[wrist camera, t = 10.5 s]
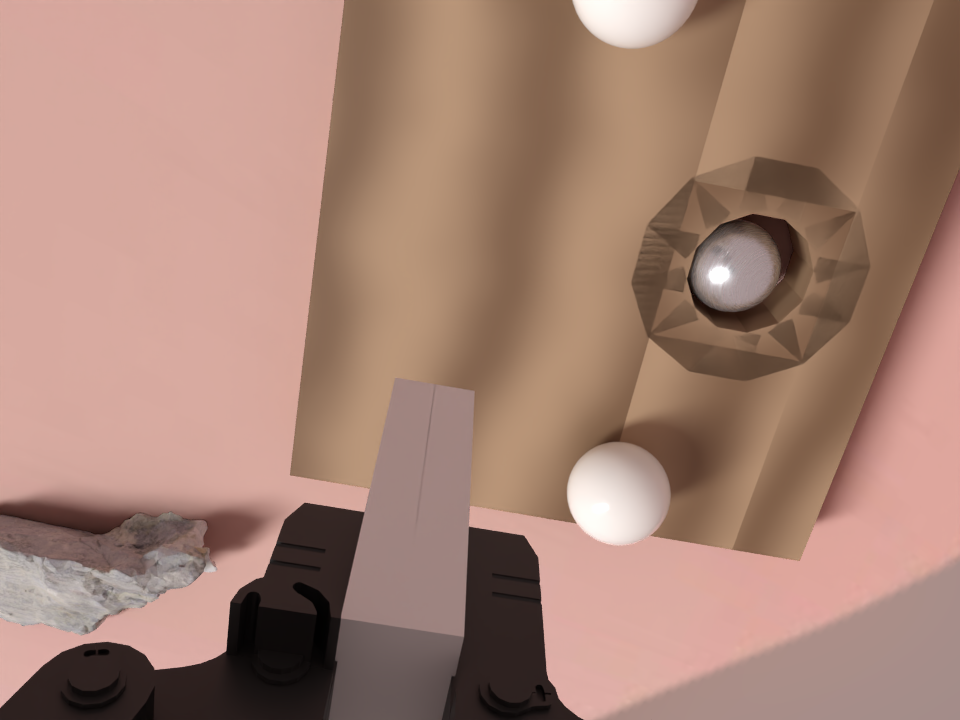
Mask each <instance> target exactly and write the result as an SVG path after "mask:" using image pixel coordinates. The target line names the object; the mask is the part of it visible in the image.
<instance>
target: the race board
mask: <svg viewBox="0 0 960 720" xmlns="http://www.w3.org/2000/svg"><path fill="white" fill-rule="evenodd" d="M959 169H960V0H698V1H697V4H696V6H695V8H694V10H693V12H692V13H691V15H690V17H689V18H688V19H687V21H686V22H685V23H684V24H683V26H682V27H681V28H680V29H679V30H678V31H677V32H675V33H674V34H673V35H671V36H670V37H669V38H667V39H665V40H664V41H662V42H660V43H658V44H655V45H652V46H649V47H646V48H639V49H626V48H619V47H616V46H612V45H610V44H607V43H605V42H603V41H601V40H600V39H598V38H597V37H595V36H594V35H593V34H592V33H591V32H590V31H589V30H588V29H587V28H586V27H585V26H584V24H583V23H582V22H581V20H580V18H579V16H578V15H577V13H576V10H575V8H574V5H573V1H572V0H344V9H343V18H342V27H341V35H340V44H339V53H338V61H337V70H336V79H335V88H334V96H333V105H332V114H331V122H330V131H329V140H328V148H327V157H326V166H325V175H324V183H323V192H322V201H321V209H320V218H319V227H318V236H317V244H316V253H315V262H314V270H313V279H312V288H311V296H310V305H309V314H308V323H307V331H306V340H305V349H304V357H303V366H302V375H301V383H300V392H299V401H298V410H297V418H296V427H295V436H294V444H293V453H292V462H291V471H290V475H292V476H298V477H304V478H310V479H315V480H321V481H327V482H333V483H339V484H345V485H351V486H357V487H363V488H369V489H370V486H371V482H372V478H373V473H374V469H375V465H376V460H377V456H378V451H379V447H380V443H381V438H382V434H383V429H384V425H385V421H386V416H387V412H388V407H389V403H390V399H391V394H392V390H393V385H394V381H395V378H401V379H407V380H413V381H419V382H425V383H430V384H436V385H442V386H448V387H454V388H460V389H466V390H472V391H475V393H474V417H473V440H472V463H471V487H470V506H476V507H482V508H488V509H494V510H500V511H506V512H512V513H518V514H524V515H530V516H536V517H541V518H547V519H553V520H559V521H565V522H571V523H576V521H575V520H574V518H573V516H572V514H571V512H570V508H569V505H568V500H567V485H568V480H569V476H570V474H571V471H572V469H573V467H574V466H575V464H576V463H577V461H578V460H579V459H580V458H581V457H582V456H583V455H584V454H585V453H586V452H588V451H589V450H591V449H592V448H594V447H596V446H598V445H601V444H604V443H608V442H627V443H631V444H634V445H637V446H640V447H642V448H643V449H645V450H647V451H648V452H649V453H651V454H652V455H653V456H654V457H655V458H656V459H657V460H658V461H659V462H660V464H661V465H662V467H663V468H664V470H665V472H666V474H667V477H668V479H669V484H670V490H671V499H670V506H669V510H668V513H667V515H666V518H665V519H664V521H663V523H662V524H661V525H660V527H659V528H658V529H657V530H656V531H655V532H654V533H653V534H652V535H650V536H654V537H660V538H666V539H672V540H678V541H684V542H690V543H696V544H702V545H708V546H714V547H720V548H726V549H732V550H738V551H744V552H750V553H756V554H762V555H767V556H773V557H779V558H785V559H791V560H797V561H800V559H801V556H802V554H803V551H804V549H805V547H806V544H807V542H808V539H809V537H810V534H811V532H812V529H813V527H814V524H815V522H816V520H817V517H818V515H819V512H820V510H821V507H822V505H823V502H824V500H825V497H826V495H827V493H828V490H829V488H830V485H831V483H832V480H833V478H834V475H835V473H836V470H837V468H838V466H839V463H840V461H841V458H842V456H843V453H844V451H845V448H846V446H847V443H848V441H849V439H850V436H851V434H852V431H853V429H854V426H855V424H856V421H857V419H858V417H859V414H860V412H861V409H862V407H863V404H864V402H865V399H866V397H867V394H868V392H869V390H870V387H871V385H872V382H873V380H874V377H875V375H876V372H877V370H878V367H879V365H880V363H881V360H882V358H883V355H884V353H885V350H886V348H887V345H888V343H889V340H890V338H891V336H892V333H893V331H894V328H895V326H896V323H897V321H898V318H899V316H900V314H901V311H902V309H903V306H904V304H905V301H906V299H907V296H908V294H909V291H910V289H911V287H912V284H913V282H914V279H915V277H916V274H917V272H918V269H919V267H920V264H921V262H922V260H923V257H924V255H925V252H926V250H927V247H928V245H929V242H930V240H931V237H932V235H933V233H934V230H935V228H936V225H937V223H938V220H939V218H940V215H941V213H942V211H943V208H944V206H945V203H946V201H947V198H948V196H949V193H950V191H951V188H952V186H953V184H954V181H955V179H956V176H957V174H958V171H959ZM750 214H758V215H763V216H768V217H774V218H779V219H784V220H785V221H786V222H787V223H788V228H789V232H790V237H791V241H792V246H793V250H794V251H793V253H792V256H791V259H790V262H789V265H788V268H787V271H786V274H785V277H784V279H783V280H782V281H781V282H780V283H779V284H778V285H777V286H776V287H775V288H774V289H773V291H772V292H771V293H770V295H769V296H768V297H767V298H766V299H765V300H764V301H762V302H761V303H760V304H758V305H756V306H754V307H752V308H750V309H747V310H744V311H738V312H725V311H720V310H716V309H714V308H711V307H709V306H708V305H706V304H703V303H701V302H700V301H699V300H698V299H697V298H696V297H695V296H694V295H692V294H691V292H690V289H689V285H688V282H687V277H688V274H689V270H690V267H691V263H692V260H693V257H694V253H695V250H696V248H697V247H698V246H699V245H700V244H701V243H702V242H703V241H704V240H705V239H706V238H707V237H708V236H709V235H710V234H711V233H712V232H713V231H714V230H715V229H716V228H717V227H718V226H719V225H720V224H722V223H726V222H729V221H732V220H735V219H738V218H741V217H744V216H747V215H750Z"/></svg>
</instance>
